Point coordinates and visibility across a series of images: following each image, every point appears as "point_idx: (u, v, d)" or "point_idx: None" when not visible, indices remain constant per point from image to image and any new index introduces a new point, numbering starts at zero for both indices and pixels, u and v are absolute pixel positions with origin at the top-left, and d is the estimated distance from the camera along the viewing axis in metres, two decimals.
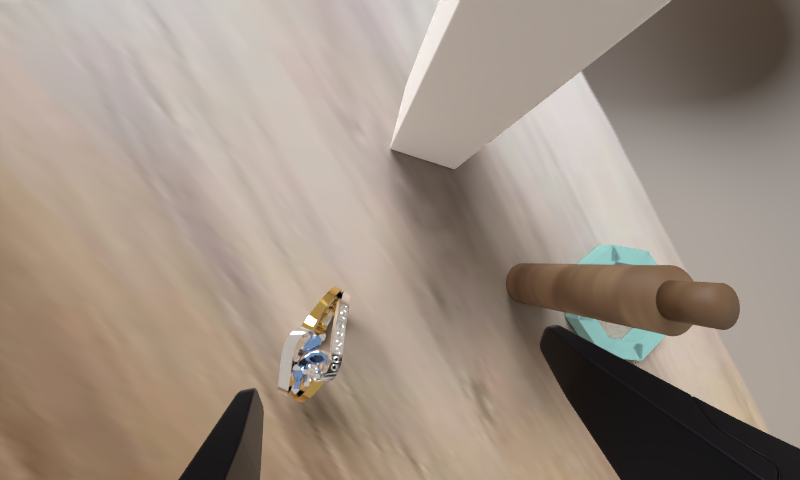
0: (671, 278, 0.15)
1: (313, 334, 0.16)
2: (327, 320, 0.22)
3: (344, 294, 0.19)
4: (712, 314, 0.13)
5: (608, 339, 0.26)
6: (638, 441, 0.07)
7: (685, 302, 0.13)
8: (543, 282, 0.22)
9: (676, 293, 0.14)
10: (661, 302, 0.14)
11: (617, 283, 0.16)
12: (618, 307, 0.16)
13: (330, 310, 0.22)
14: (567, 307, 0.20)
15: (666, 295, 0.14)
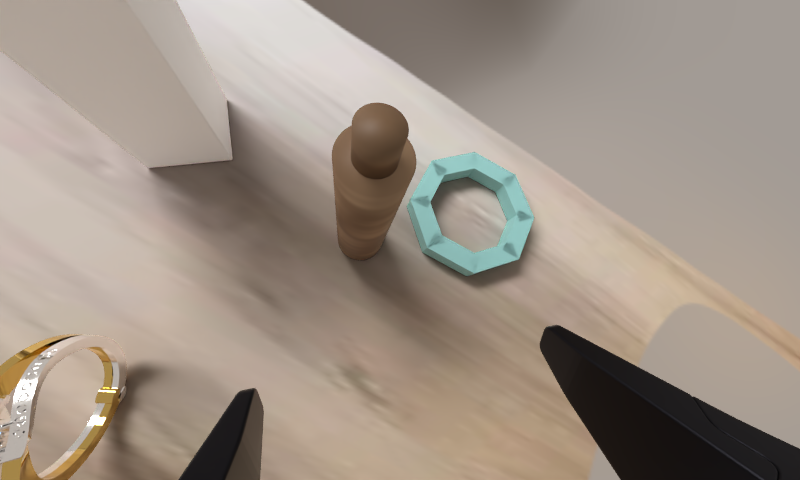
0: None
1: None
2: (114, 380, 0.18)
3: (72, 337, 0.15)
4: (368, 139, 0.10)
5: (471, 253, 0.23)
6: (638, 441, 0.07)
7: (353, 144, 0.11)
8: (337, 222, 0.19)
9: (351, 142, 0.11)
10: (354, 162, 0.12)
11: None
12: (342, 196, 0.13)
13: (111, 366, 0.17)
14: (353, 232, 0.17)
15: (351, 151, 0.12)
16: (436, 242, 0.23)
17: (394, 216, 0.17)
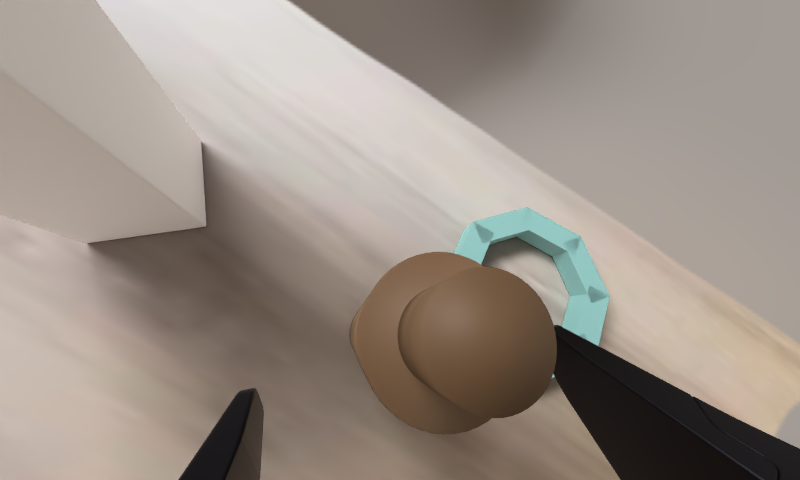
0: (423, 285, 0.06)
1: None
2: None
3: None
4: (467, 382, 0.04)
5: None
6: (638, 441, 0.07)
7: (417, 360, 0.05)
8: (352, 343, 0.12)
9: (406, 335, 0.05)
10: (407, 362, 0.06)
11: (356, 336, 0.07)
12: None
13: None
14: None
15: (402, 343, 0.05)
16: None
17: None
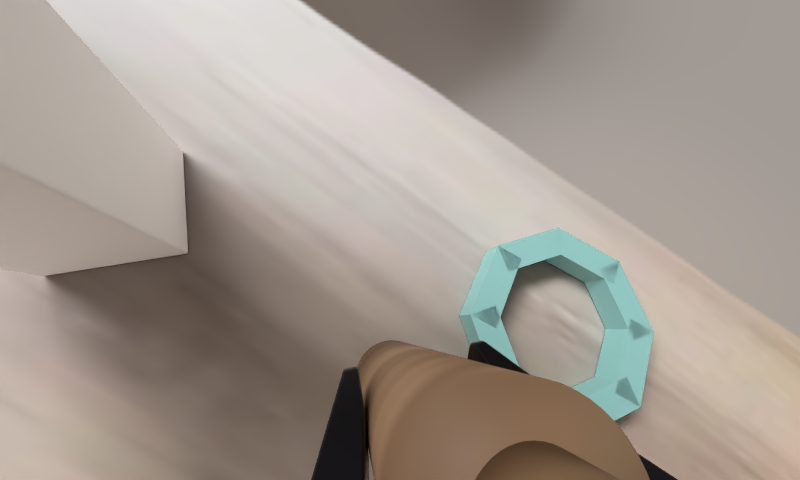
0: (498, 443, 0.04)
1: None
2: None
3: None
4: None
5: None
6: None
7: None
8: None
9: None
10: None
11: None
12: None
13: None
14: None
15: None
16: None
17: None
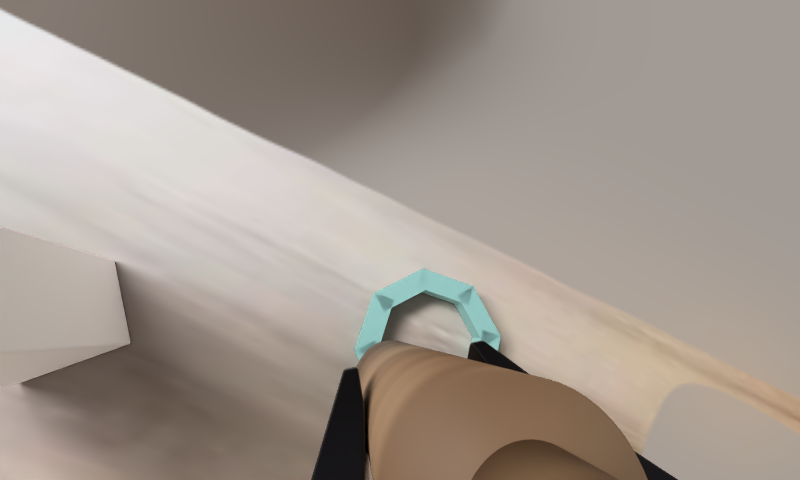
0: (495, 442, 0.04)
1: None
2: None
3: None
4: None
5: None
6: None
7: None
8: None
9: None
10: None
11: None
12: None
13: None
14: None
15: None
16: None
17: None
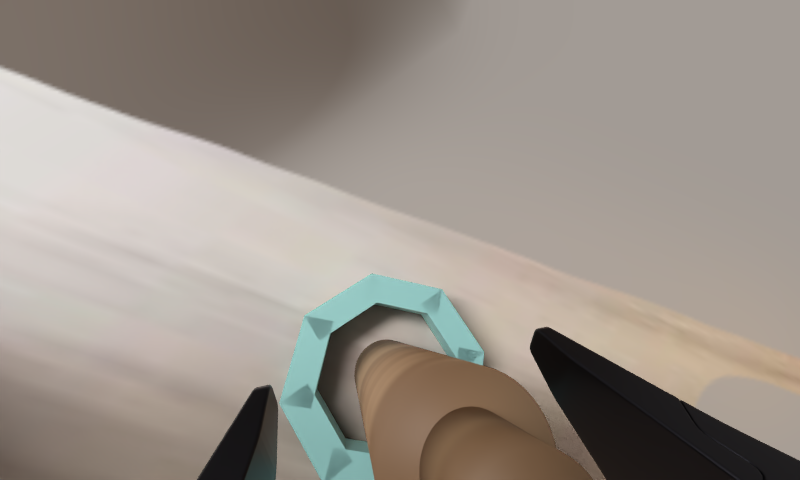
0: (447, 408, 0.06)
1: None
2: None
3: None
4: None
5: None
6: (626, 445, 0.07)
7: None
8: None
9: None
10: None
11: (370, 446, 0.06)
12: None
13: None
14: None
15: None
16: (338, 467, 0.14)
17: None
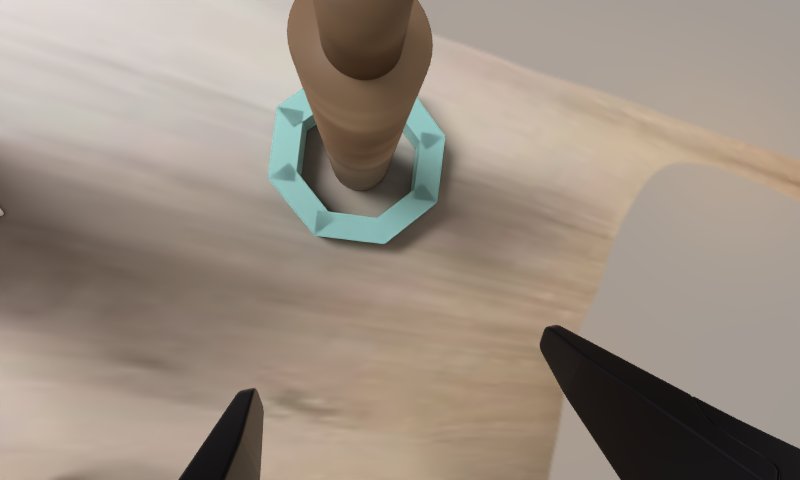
0: None
1: None
2: None
3: None
4: None
5: (373, 220, 0.18)
6: (638, 441, 0.07)
7: (318, 13, 0.06)
8: None
9: None
10: (326, 51, 0.07)
11: None
12: (320, 113, 0.08)
13: None
14: (347, 163, 0.13)
15: (318, 30, 0.07)
16: (323, 223, 0.17)
17: None
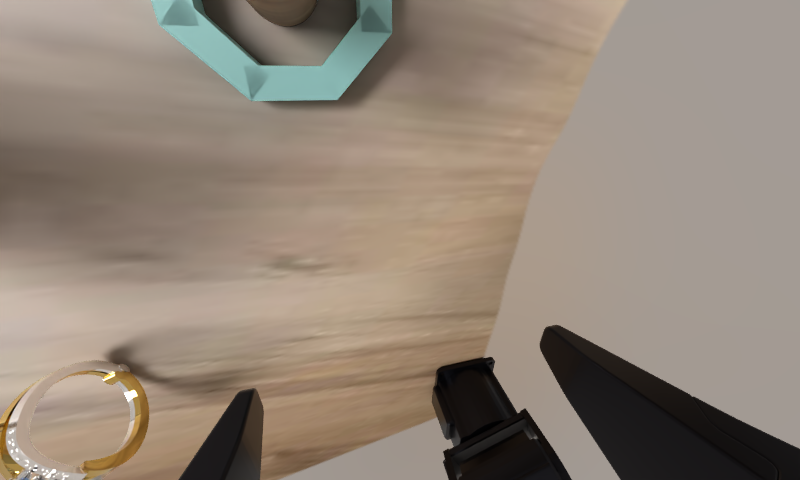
0: None
1: None
2: (105, 371, 0.20)
3: (16, 408, 0.16)
4: None
5: (317, 69, 0.15)
6: (638, 441, 0.07)
7: None
8: None
9: None
10: None
11: None
12: None
13: (88, 371, 0.20)
14: None
15: None
16: (257, 83, 0.14)
17: None
